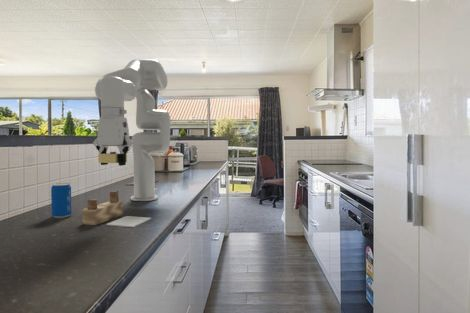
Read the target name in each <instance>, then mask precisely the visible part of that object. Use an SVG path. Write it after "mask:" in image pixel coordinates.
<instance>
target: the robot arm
mask: <svg viewBox="0 0 470 313" xmlns="http://www.w3.org/2000/svg"><path fill="white" fill-rule="evenodd" d="M167 86H168V75H167V74H166V71H165V69H164V67H163V65H162V64H161V63H160V62H159V60H157V59H150V58H149V59H148V58H144V59H143V58H141V59H140V58H137V59H136V58H135V59H132V60H130V61H129V62H128V63H127V64H126V66H124V67H123V69H122V68H121V69H118V70H116V71H112V72H109V73H106V74H104V75H102V76H101V77H100V78H99V79H98V80H97V82H96V83H95V87H94V93H95V95H96V97H97V99H98V100H100V117H99V120H98V126H97V137H96V138H95V139H94V141H93V142H92V144H93V146H95V149H96V150H97V152H98V154H104V153H108V150H109V148H110V147H111V146H112V147H117V149H118V152H119V153H120V154H119V163H118V166H121V167H122V166H126V163H127V162H126V154H127V155H128V152H129V151H130V150H131V148H132V155H133V156H132V157H133V195H132V196H130V200H131V201H135V202H150V201H155V200H158V199H159V195H157V194H156V193H157V192H158V190H159V189H158V188H155V187H156V186H155V185H156V178H155V176H156V175H155V172H156V170H155V168H156V167H155V164H156V163H155V159H154V158H153V157H152V155H151V154H150V153H159V154H160V153H167V152H169V150H170V147H171V146H170V145H171V116H170V113H169V112H168V111H167V110H165V109H156V99H155V98H154V96H153V95H152V93H151V92H150V91H149V90H151V91H152V90H154V91H158V90H159V91H160V90H161V91H162V90H165V89H166V88H167ZM135 99H136V112H135V113H136V114H135V124H136V127H137V128H138V129H140V130H144V131H140V132H136V133H134V134H133V135H132V137H131V138H130V132H129V130H130V128H129V123H128V119H127V117H125V115H126V114H127V113H128V112H127V109H125V102H132V101H133V100H135ZM145 130H146V131H145ZM151 131H153V132H151ZM154 131H159V132H154ZM108 164H109V163H100V165H101V166H106V165H108Z"/></svg>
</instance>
